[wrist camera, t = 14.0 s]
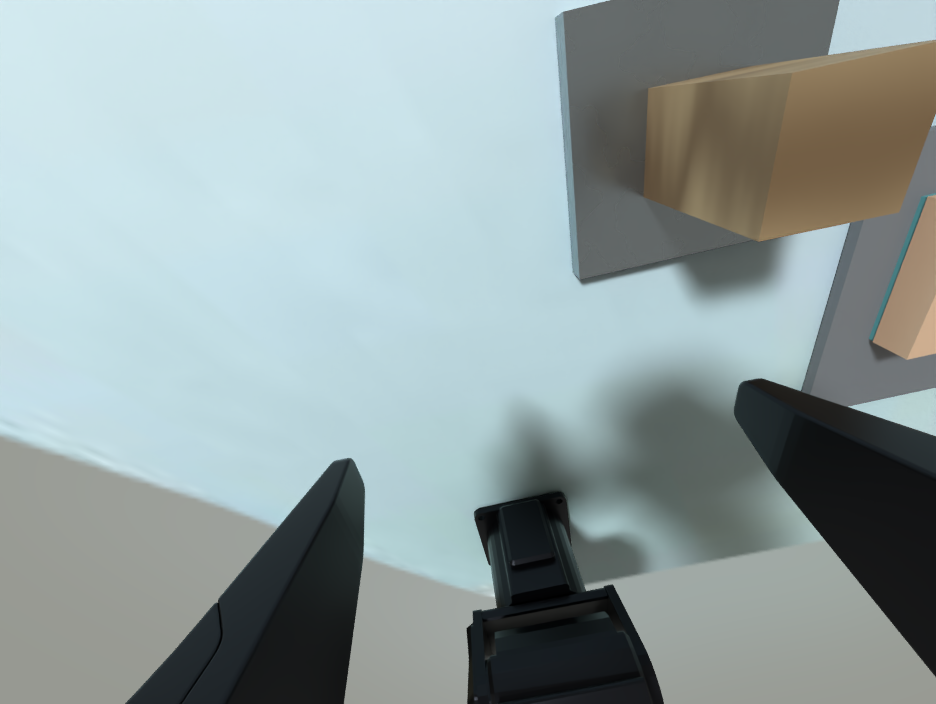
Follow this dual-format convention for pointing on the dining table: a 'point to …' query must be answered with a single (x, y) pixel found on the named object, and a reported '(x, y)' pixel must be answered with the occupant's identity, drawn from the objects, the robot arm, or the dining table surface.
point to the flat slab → (912, 291)
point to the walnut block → (792, 140)
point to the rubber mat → (870, 308)
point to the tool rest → (625, 109)
